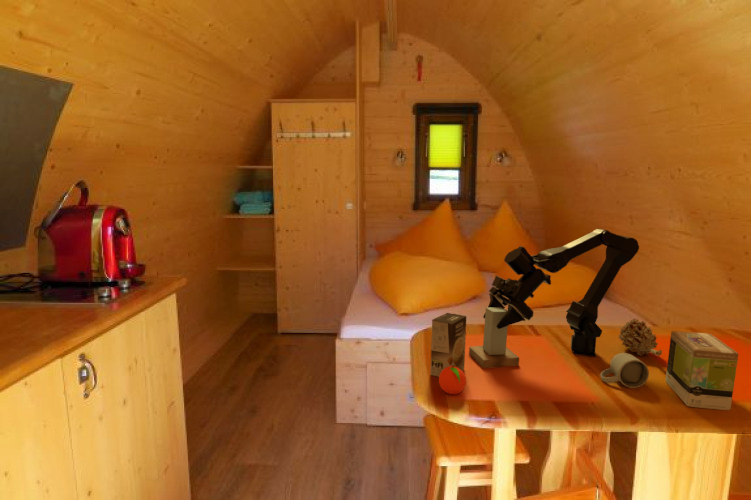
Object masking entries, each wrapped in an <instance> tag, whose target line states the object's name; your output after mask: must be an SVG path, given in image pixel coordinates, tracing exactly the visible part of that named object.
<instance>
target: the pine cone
mask: <svg viewBox="0 0 751 500" xmlns="http://www.w3.org/2000/svg"><path fill="white" fill-rule="evenodd" d="M619 332H620V334H619V335H618V338H619V341H621V342H622V343H621V344H622V346H624V348H629V351H631V352H632V353H635V352H636V354H637V356H640V357H642V356H644V355H645V354H646V355H650V353H651V354H652V355H655V356H657V357H659V356H661V355H662V354H663V350H661V349H659V350H656V348H657V346H658V345H659V343H658V342H657V336H656V334H655V333H653V329H652V328H651V327H650V326H648V324H646V322H645V321H640V320H639V319H636V318H633V319H631V320H629V322H628V321H627V322H625V324H624V326H623V325H622V326H620V329H619Z"/></svg>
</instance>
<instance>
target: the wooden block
mask: <svg viewBox="0 0 751 500" xmlns="http://www.w3.org/2000/svg"><path fill="white" fill-rule="evenodd" d="M507 311H508V309H506V308H504V309H503V308H502V307H488V306H487V307H485V311H484V314H485V319H484V329H483V341H482V346H483V350H484V351H486V352H487V353H488V354H489V355H500V354H506V347H507V340H508V327H509V325H508V326H506V327H503V328H501V329H498V328H497V327H496V326H497V325H498V323H499V322H500V321H501V319H502V318H503V317H504V315H505V314H506V313H507Z"/></svg>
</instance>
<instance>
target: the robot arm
mask: <svg viewBox="0 0 751 500" xmlns="http://www.w3.org/2000/svg"><path fill="white" fill-rule="evenodd" d="M601 245H603V246H606V247H605V260H604V261H603V262H602V265H601V267H600V268H599V270H598V272H597V273H596V276H595V277H594V279H593V280H592V282H591V284H590V286H589V287H588V289H587V291H586V293H585V294H584V296H583V297H582V299H580V300H579V301H575V300H573V301H572V302H571V304H570V305H569V306H570V307H569V308H568V309H567V310H565V312H566V316H565V319H566V322H567V324H568V325H569V328H570V330H572V331H573V334H572V335H571V337H570V349H571V351H572V352H573V355H579V356H580V355H581V356H589V357H596V356H597V353H596V346H597V338H600V337H601V335H602V333H603V330H602V329H601V327H599V325H598V324H597V320H598V319H599V318H598V317H599V310H598V309H599V306H600V305H601V302H602V300H603V299H604V298H605V296H606V294H607V292H608V291H609V289H610V287H611V285H612V284H613V282H614V280H615V278H616V277H617V275H618V273H619V272H620V270H621V268H622V267H623V266H625V265H626V264H627V263H629V262H630V261H632V260H633V259H634V257H635V256H636V255H637V253H638V252H639V249H640V246H639V242H638V240H637V239H636V238H634V237H629V236H624V235H620V234H616V233H613V232H611V231H609V230H607V229H602V228H596V229H594V230H593V231H591V232H590V233H587V234H585V235H583V236H582V237H579V238H578V239H575V240H573V241H571V242H569V243H566V244H565V245H563V246H559V247H553V248H552V247H551V248H547V249H545V250H541V251H540V252H538V253H537V254H533V255H531V254H530V253H529V252H528V250H527V249H526V248H525V247H524V246H522V245H520V246H518V247H517V248H514V249H512V250H511V251H509V252H508V253H507V254H506V255H505V256H504V260H503V261H504V262H505V263H506V265H508V267H509V268H510V269H511V270H512V271H513V272H514V274H516V275H517V276H520V277H519V278H518V279H512V278H506V279H504V278H503V277H500V276H498V275H496V276H495V277H494V280H493V281H492V283H491V286H492V287H491V288H490V289H489V290H488V292H489V294H488V295H489V298H490V299H489V300H490V301H489V304H488V306H487V308H488V307H502V308H503V309H506V306H507V313H506V314H505V315H504V317H503V318H502V319H501V321H500V322H499V323H498V325H497V326H496V327H497V328H498V329H501V328H503V327H506V326H508V327H509V326H512V325H514V324H517V323H521V322H522V321H523V322H525V321H526V320H527V321H530V320H531V319H532V318H533V317H534V311H533V309H532V308H531V307H530V306H529V305H528V304H527V303H526V301H527V300H528V299H529V298H531V299H533V298H534V297H535V294H534V293H535V291H537V290H538V288H539V287H540V286H541V285H542V284H543V283H545V284H546V285H548V286H549V285H550V286H551V285H552V280H551V277H552V276H551V275H550V274H548V273H551V274H556V273H558V272H560V271H561V270H563V269H564V268H565V267H567V265H568V264H569V262H570V261H571V260H573V259H575V258H577V257H579V256H582V255H583V254H586V253H587V252H589V251H592V250H593V249H596V248H598V247H599V246H601ZM536 266H537V267H538V268H536ZM543 270H544V271H546V272H548V273H545V272H544V271H543ZM482 317H483V318H484V320H485V313H484V315H483V316H482Z"/></svg>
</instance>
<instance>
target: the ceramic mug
mask: <svg viewBox="0 0 751 500" xmlns="http://www.w3.org/2000/svg"><path fill="white" fill-rule="evenodd" d="M609 366H610V367H609V368H606V369H603V370H602V371H601V372H600V378H601V381H602V382H604V383H607V384H612V383H616V382H620V383H621V384H622V385H624V387H627V388H629V389H630V388H631V389H637V388H640V387H642V386H644V385H645V384H646V383H647V381H648V379H649V375H650V372H649V368H648V365H646V363H644V362H643V361H642V360H640V359H639V358H637V357H636V356H634V355H633V354H631V353H628V352H620V353H617V354H615V355H614V356H613V357H612V358H611V360H610V363H609ZM610 374H613V376H608V375H610ZM606 376H608V377H606Z"/></svg>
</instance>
